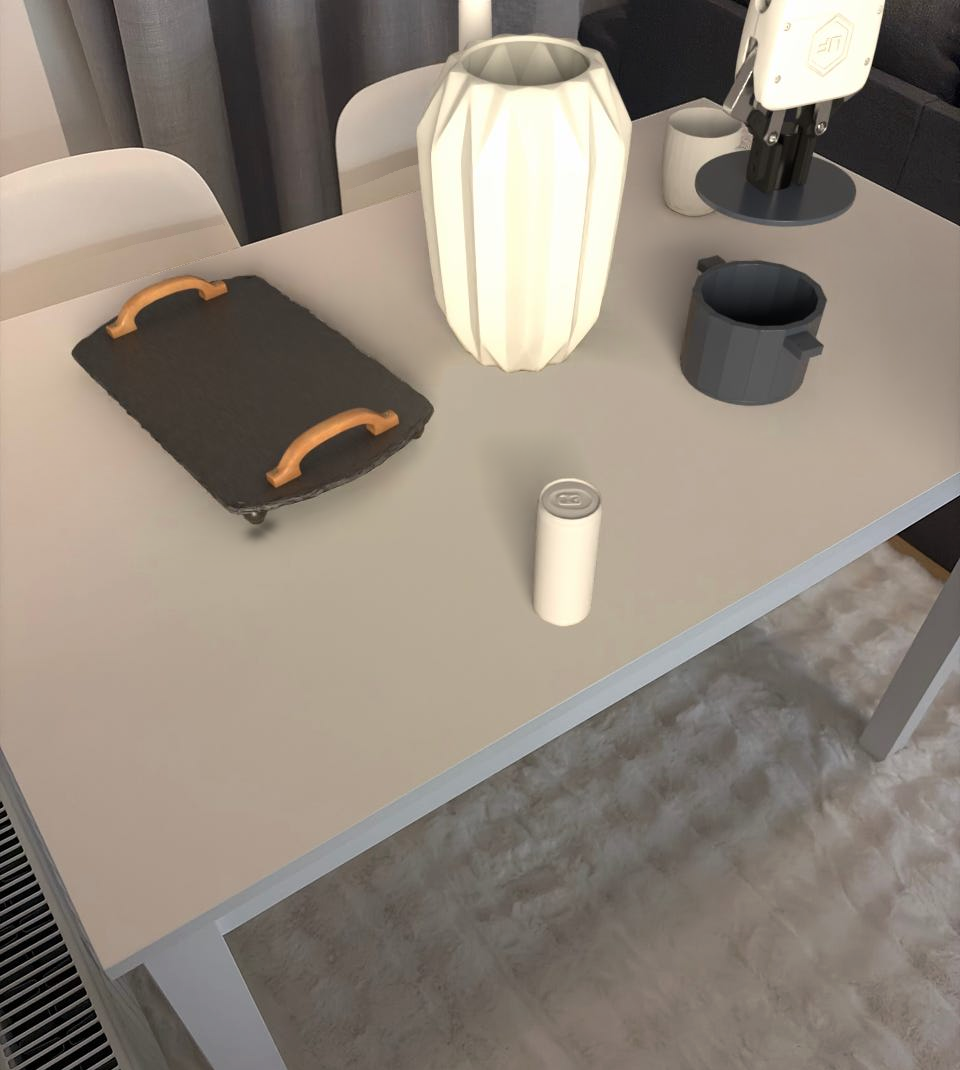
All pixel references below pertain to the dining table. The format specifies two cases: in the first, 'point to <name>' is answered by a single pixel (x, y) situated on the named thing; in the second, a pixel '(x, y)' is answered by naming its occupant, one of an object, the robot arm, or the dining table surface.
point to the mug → (694, 153)
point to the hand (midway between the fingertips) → (775, 180)
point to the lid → (776, 188)
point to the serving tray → (251, 390)
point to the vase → (522, 194)
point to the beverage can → (566, 550)
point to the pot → (750, 330)
